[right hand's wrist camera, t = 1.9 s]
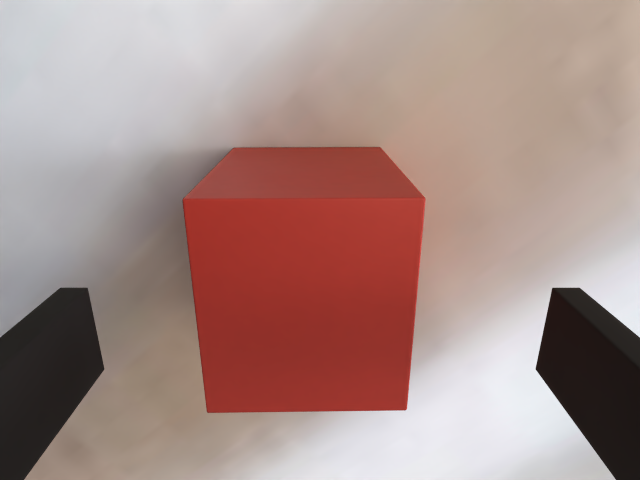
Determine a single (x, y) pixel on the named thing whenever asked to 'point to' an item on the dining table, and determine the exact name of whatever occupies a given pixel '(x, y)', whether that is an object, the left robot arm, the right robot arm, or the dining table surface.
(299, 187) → the block
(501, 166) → the dining table surface
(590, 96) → the dining table surface
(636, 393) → the right robot arm
